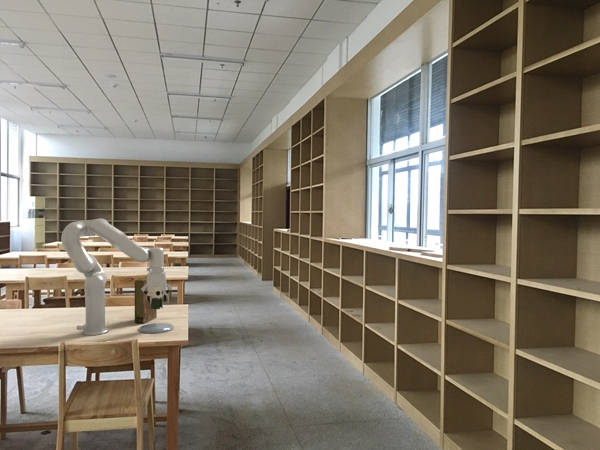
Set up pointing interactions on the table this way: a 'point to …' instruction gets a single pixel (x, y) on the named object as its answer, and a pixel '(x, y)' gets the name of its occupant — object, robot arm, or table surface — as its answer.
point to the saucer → (156, 328)
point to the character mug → (156, 297)
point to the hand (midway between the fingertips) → (156, 302)
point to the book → (143, 303)
